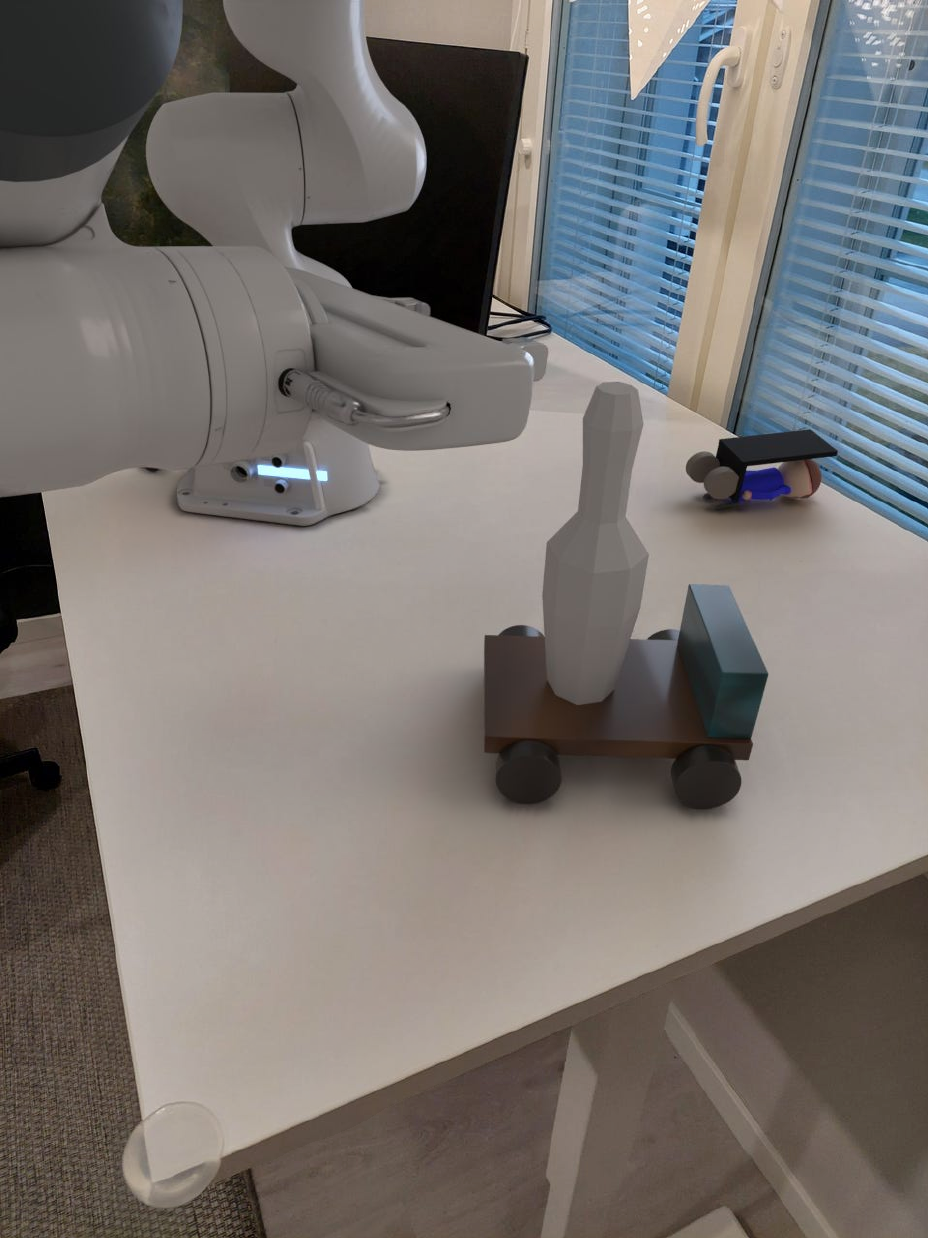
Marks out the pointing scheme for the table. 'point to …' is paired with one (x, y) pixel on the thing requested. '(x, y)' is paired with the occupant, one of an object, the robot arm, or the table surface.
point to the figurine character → (735, 454)
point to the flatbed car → (632, 705)
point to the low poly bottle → (596, 557)
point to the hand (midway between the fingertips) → (476, 335)
